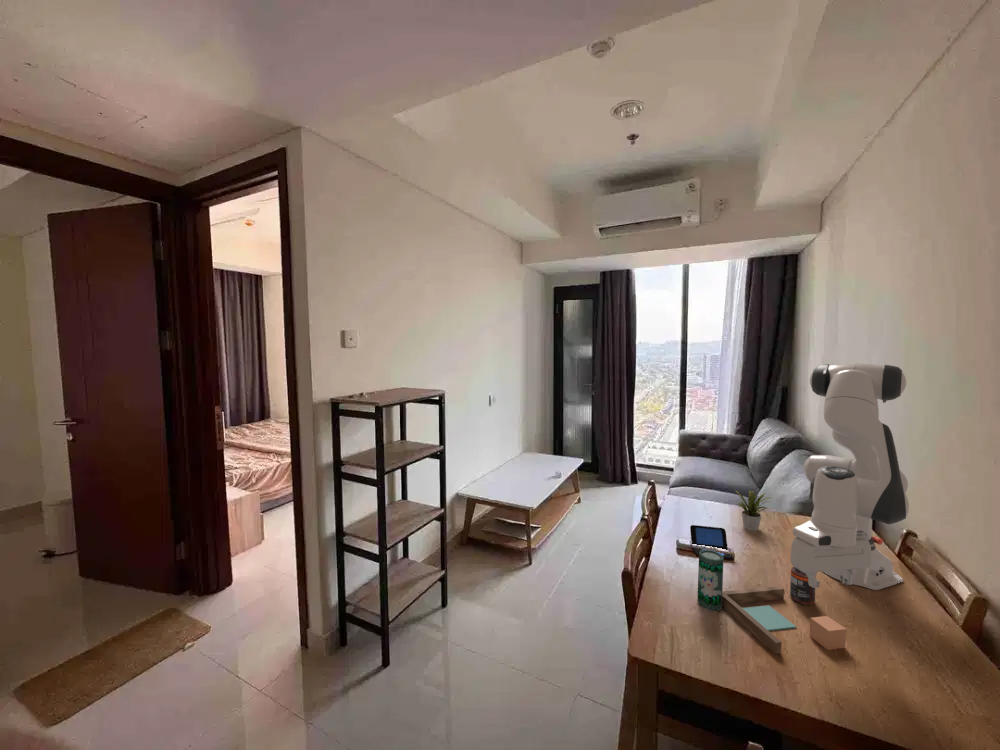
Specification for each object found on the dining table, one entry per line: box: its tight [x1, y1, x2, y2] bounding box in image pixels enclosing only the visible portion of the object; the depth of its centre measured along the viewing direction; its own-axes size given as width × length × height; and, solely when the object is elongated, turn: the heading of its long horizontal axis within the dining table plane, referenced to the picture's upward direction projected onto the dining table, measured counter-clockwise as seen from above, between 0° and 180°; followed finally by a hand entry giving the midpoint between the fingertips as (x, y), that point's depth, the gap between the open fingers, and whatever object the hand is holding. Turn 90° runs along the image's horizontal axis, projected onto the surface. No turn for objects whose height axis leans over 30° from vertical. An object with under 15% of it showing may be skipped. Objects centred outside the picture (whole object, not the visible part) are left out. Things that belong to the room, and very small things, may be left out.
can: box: [696, 550, 725, 612], centre depth 116 cm, size 6×6×15 cm
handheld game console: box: [690, 524, 734, 561], centre depth 148 cm, size 12×11×7 cm
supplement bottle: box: [789, 566, 817, 606], centre depth 119 cm, size 6×6×11 cm
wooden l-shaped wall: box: [722, 585, 785, 655], centre depth 109 cm, size 21×21×3 cm
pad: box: [742, 604, 797, 632], centre depth 111 cm, size 9×9×1 cm
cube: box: [809, 615, 847, 651], centre depth 102 cm, size 5×5×5 cm
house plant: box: [735, 490, 772, 532], centre depth 165 cm, size 14×14×16 cm
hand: (829, 585), depth 101 cm, fingers open, 8 cm apart
